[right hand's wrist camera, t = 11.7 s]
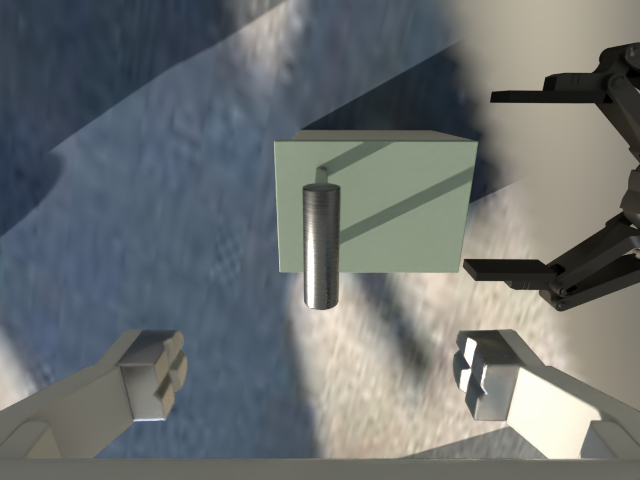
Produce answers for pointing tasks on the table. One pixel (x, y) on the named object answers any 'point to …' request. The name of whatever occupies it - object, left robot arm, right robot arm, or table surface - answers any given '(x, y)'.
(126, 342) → the right robot arm
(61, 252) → the table surface
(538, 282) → the left robot arm
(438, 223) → the lid
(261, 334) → the table surface
